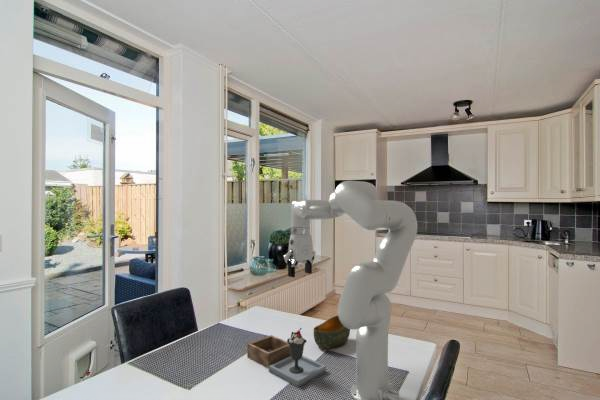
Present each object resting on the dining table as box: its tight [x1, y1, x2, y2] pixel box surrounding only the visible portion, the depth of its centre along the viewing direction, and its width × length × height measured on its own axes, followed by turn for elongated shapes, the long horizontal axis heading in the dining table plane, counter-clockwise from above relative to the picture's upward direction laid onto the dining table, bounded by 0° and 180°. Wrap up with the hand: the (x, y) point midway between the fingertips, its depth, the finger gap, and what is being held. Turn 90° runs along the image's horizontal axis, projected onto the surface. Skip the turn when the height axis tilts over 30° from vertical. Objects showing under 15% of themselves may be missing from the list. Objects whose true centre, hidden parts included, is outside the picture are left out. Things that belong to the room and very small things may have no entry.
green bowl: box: [313, 314, 351, 351], centre depth 137 cm, size 13×20×10 cm, turn 104°
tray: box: [268, 355, 327, 388], centre depth 113 cm, size 14×14×2 cm
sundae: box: [287, 327, 308, 374], centre depth 113 cm, size 7×7×15 cm
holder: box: [246, 334, 291, 369], centre depth 124 cm, size 12×12×5 cm
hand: (300, 274), depth 129 cm, fingers open, 9 cm apart
